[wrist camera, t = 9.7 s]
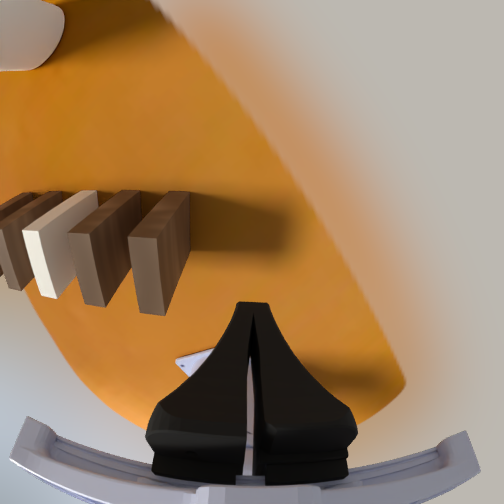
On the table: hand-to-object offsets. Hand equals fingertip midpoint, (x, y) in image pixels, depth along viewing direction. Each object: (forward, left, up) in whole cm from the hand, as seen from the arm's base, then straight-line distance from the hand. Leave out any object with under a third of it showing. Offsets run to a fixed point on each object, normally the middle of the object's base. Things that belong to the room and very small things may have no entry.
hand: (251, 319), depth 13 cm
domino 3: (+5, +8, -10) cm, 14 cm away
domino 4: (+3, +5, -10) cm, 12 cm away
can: (+25, +8, -11) cm, 28 cm away
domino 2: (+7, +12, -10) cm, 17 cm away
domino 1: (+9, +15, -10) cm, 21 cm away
